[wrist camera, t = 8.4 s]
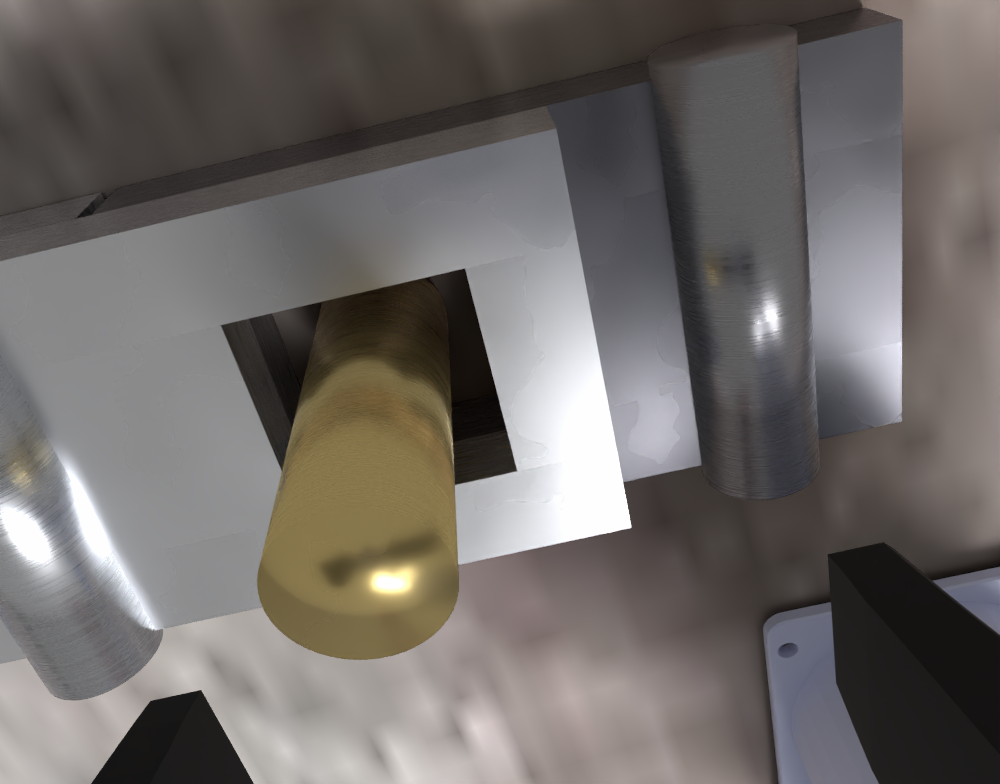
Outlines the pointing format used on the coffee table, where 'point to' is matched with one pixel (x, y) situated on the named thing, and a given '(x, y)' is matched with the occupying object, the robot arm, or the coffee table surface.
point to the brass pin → (368, 482)
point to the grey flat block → (707, 242)
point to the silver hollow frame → (268, 379)
